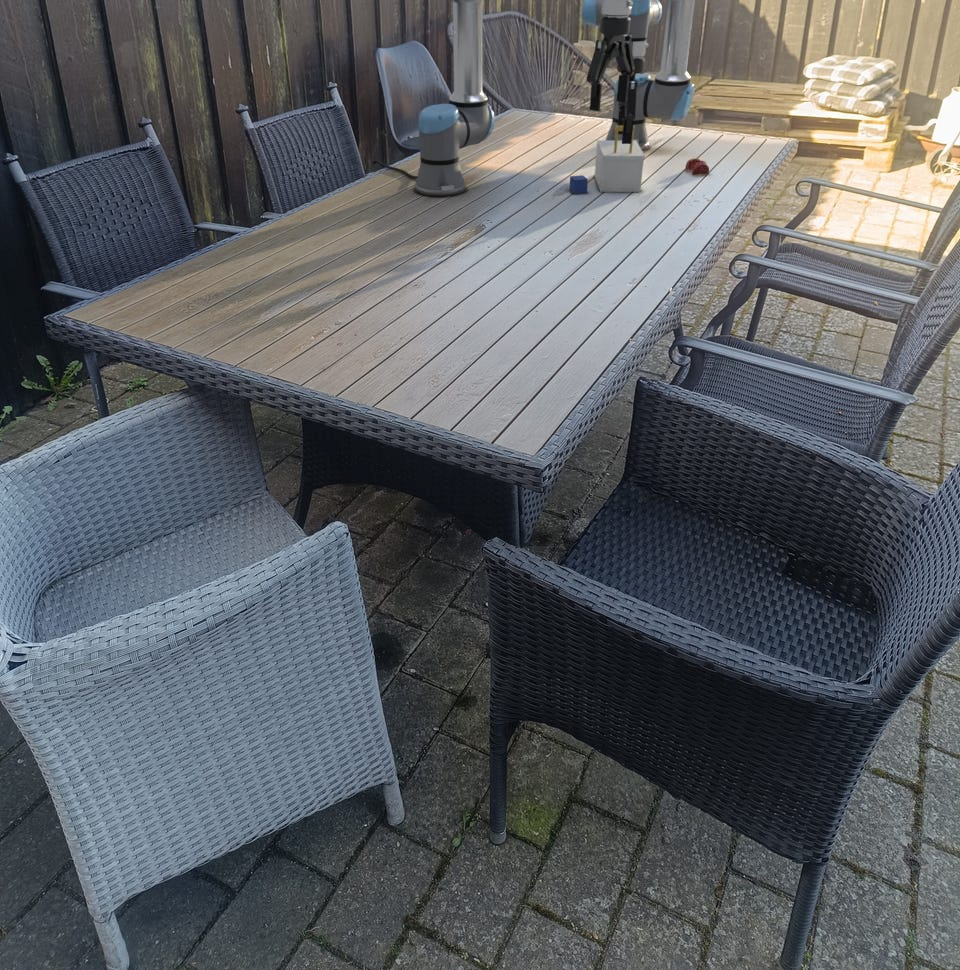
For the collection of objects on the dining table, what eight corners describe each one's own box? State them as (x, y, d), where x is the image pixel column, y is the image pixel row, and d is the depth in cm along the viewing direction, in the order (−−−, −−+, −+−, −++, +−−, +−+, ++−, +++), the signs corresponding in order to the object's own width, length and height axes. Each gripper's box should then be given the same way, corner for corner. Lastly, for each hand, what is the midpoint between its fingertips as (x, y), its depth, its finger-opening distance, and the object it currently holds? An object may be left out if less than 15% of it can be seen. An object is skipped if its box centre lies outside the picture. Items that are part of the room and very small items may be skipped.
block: (586, 193, 256) (587, 178, 253) (574, 194, 255) (574, 180, 253) (581, 189, 259) (582, 175, 257) (569, 190, 258) (570, 176, 256)
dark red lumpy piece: (700, 154, 275) (711, 161, 268) (699, 168, 277) (710, 175, 271) (684, 156, 274) (695, 163, 267) (683, 169, 276) (694, 176, 270)
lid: (644, 159, 250) (647, 128, 245) (603, 159, 250) (605, 128, 245) (635, 143, 265) (638, 114, 260) (597, 143, 265) (599, 114, 260)
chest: (640, 191, 257) (643, 158, 251) (600, 191, 257) (602, 158, 251) (632, 175, 271) (635, 143, 265) (594, 175, 271) (597, 143, 265)
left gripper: (602, 22, 204) (595, 116, 216) (653, 12, 219) (644, 100, 232) (576, 19, 207) (570, 112, 220) (628, 10, 223) (620, 96, 236)
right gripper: (651, 63, 228) (642, 148, 241) (639, 50, 247) (631, 129, 260) (623, 63, 228) (616, 148, 241) (613, 50, 247) (606, 129, 260)
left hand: (608, 106), depth 226 cm, fingers open, 13 cm apart
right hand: (623, 138), depth 250 cm, fingers open, 11 cm apart
